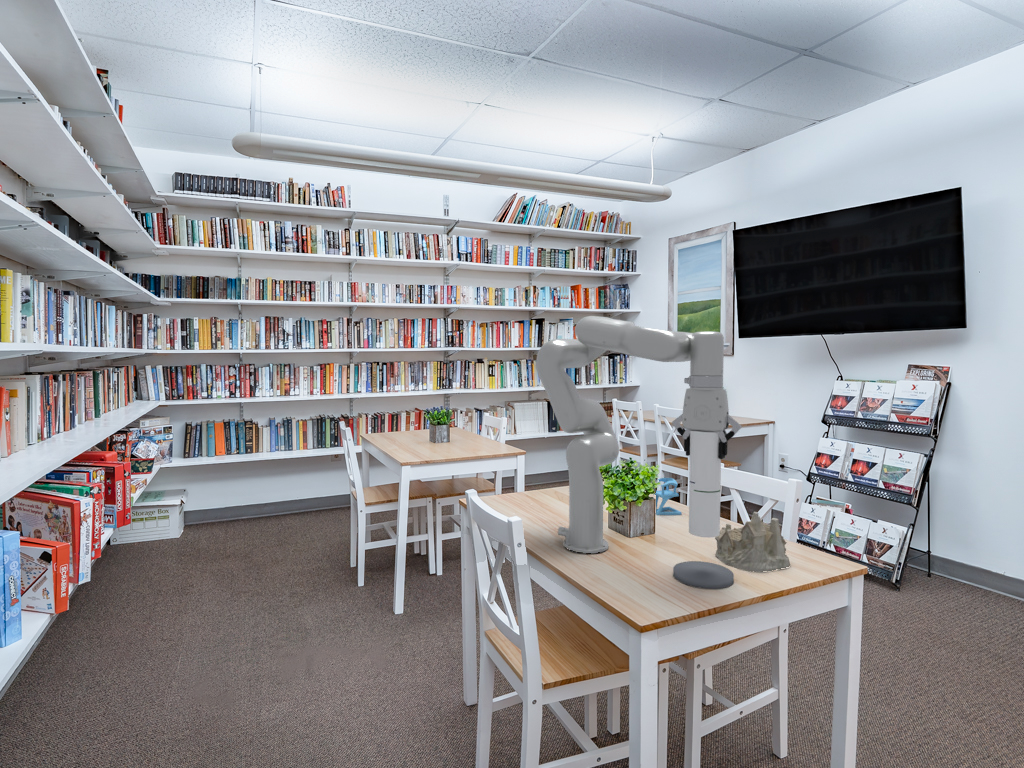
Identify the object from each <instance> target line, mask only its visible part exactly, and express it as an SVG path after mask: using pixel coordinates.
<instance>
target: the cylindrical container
mask: <svg viewBox="0 0 1024 768" xmlns="http://www.w3.org/2000/svg"><path fill="white" fill-rule="evenodd" d="M720 440H721V439H720V437H719V435H718V432H712V431H698V430H690V455H689V478H688V479H689V484H688V485H689V490H688V491H689V492H688V493H689V494H688V496H689V497H688V533H689V534H690V535H692V536H696V537H700V538H715V537H717V536H719V535H720V530H721V487H722V486H721V484H722V483H721V481H722V480H721V478H722V477H721V476H722V471H721V470H722V459H719V442H720Z"/></svg>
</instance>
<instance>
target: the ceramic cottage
mask: <svg viewBox="0 0 1024 768" xmlns="http://www.w3.org/2000/svg"><path fill="white" fill-rule="evenodd" d="M714 539H715V541H716V547H717V549H716V550H715V554H714V556H715V558H717V559H718V560H720V561H721V563H723V564H725V565H728V566H731V567H732V568H736V569H737V570H742V571H746V572H750V571H751V572H752V573H764V572H763V571H772V570H776V569H781V568H786V567H789V566H790V565H791V562H790V559H789V556H788V555H787V554H786V551H787V548H786V544H788V542H787V541H786V540H785V539H784V536H782V534H781V528H780V521H779V518H776V517H772V518H771V519H770V523H769V524H768V523H765V522H763V518H761V516H760V515H759V512H757V511H753V512H752V516H751V520H750V521H746V522H745V523H744V526H741V527H738V528H737V527H734V528H733V529H732V525H731V523H726V524H725V526H723V527H722V528H720V535H719V536H717V537H714ZM753 571H754V572H753ZM772 572H773V571H772Z"/></svg>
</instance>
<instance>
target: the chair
mask: <svg viewBox="0 0 1024 768" xmlns="http://www.w3.org/2000/svg"><path fill="white" fill-rule="evenodd" d="M657 480H659V482H658V483H660V482H664V483H663V484H661V485H660V486H661V490H658V489H657V490H656V493H655V495H656V513H655V515H656V516H666V515H667V516H681V515H682V511H681V510H679V509H676V508H674V507H671V506H665V504H666V503H667V501H669V500H670V499H672V498H674V497H675V498H676V497H679V496H680V495H679V493H677V487H678V484H679V483H678V482H677V480H675V479H674V478H673V477H661V478H660V477H659V478H658V479H657ZM669 486H673V487H674V488H673V491H672V490H670V488H669ZM659 498H662V500H661V502H660V504H659V507H658V502H659ZM668 510H669V511H668Z"/></svg>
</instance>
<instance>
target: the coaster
mask: <svg viewBox="0 0 1024 768" xmlns="http://www.w3.org/2000/svg"><path fill="white" fill-rule="evenodd" d="M672 568H673V569H672V572H673V573H672V574H673V575H672V576H673V578H674V579H675V580H676V581H677V582H680V583H681V584H683V585H686V586H690V587H693V588H698V589H706V590H720V589H725V588H726V589H727V588H728V587H731V586H732V585H734V583H735V582H734V579H735V578H734V577H735V575H734V573H733V571H732V570H731V569H730V568H728V567H726V566H723V565H720V564H717V563H714V562H708V561H701V560H700V561H699V560H697V561H696V560H691V561H683V562H682V561H681V562H679V563H676V564H675V565H673V567H672Z"/></svg>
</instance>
